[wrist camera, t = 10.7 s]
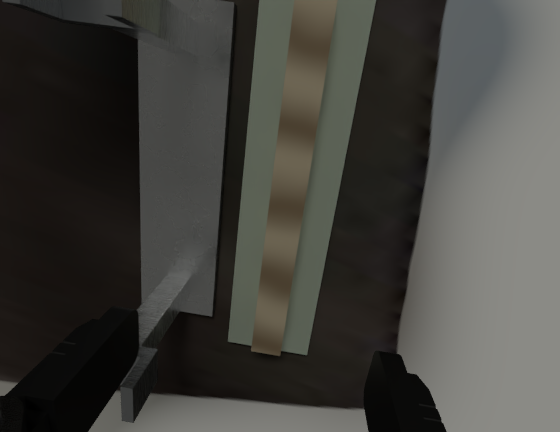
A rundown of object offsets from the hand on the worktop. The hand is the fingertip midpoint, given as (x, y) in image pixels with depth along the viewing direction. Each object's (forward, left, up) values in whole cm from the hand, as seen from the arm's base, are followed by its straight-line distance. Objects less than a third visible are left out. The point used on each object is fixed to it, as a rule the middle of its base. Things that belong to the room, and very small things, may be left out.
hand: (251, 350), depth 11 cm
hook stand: (0, -11, -22) cm, 24 cm away
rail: (0, 0, -21) cm, 21 cm away
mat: (0, 0, -22) cm, 22 cm away
